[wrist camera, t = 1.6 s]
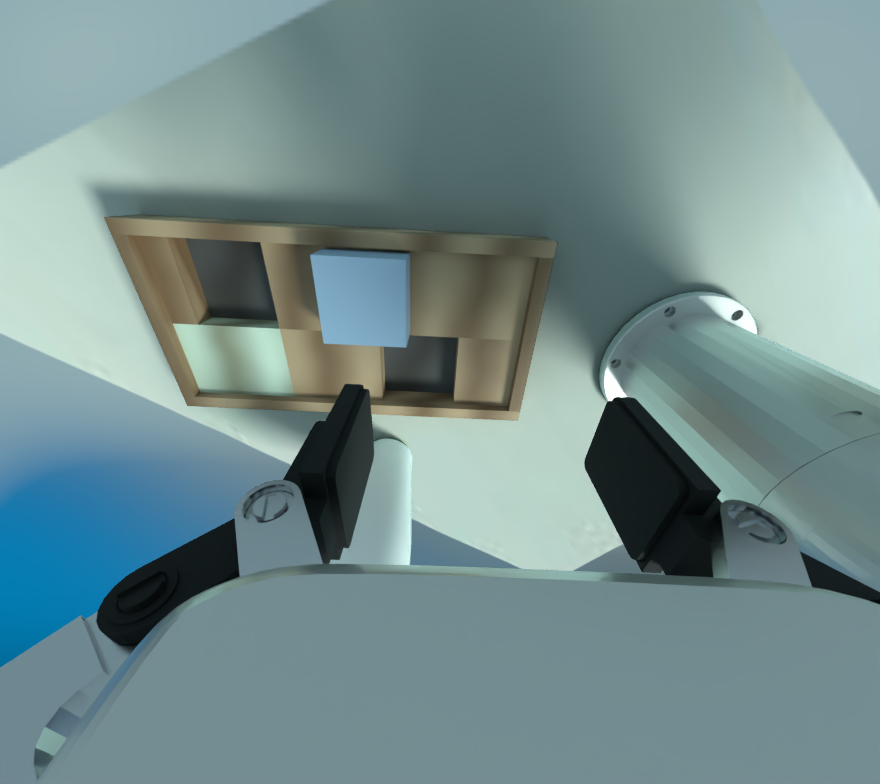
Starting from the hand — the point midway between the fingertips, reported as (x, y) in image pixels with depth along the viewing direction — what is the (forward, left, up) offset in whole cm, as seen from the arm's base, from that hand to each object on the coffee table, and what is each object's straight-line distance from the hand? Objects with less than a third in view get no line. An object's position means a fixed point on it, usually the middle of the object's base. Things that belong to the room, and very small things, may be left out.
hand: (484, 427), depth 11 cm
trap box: (+9, +3, -18) cm, 20 cm away
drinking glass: (+6, +18, -18) cm, 26 cm away
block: (+7, 0, -16) cm, 17 cm away
